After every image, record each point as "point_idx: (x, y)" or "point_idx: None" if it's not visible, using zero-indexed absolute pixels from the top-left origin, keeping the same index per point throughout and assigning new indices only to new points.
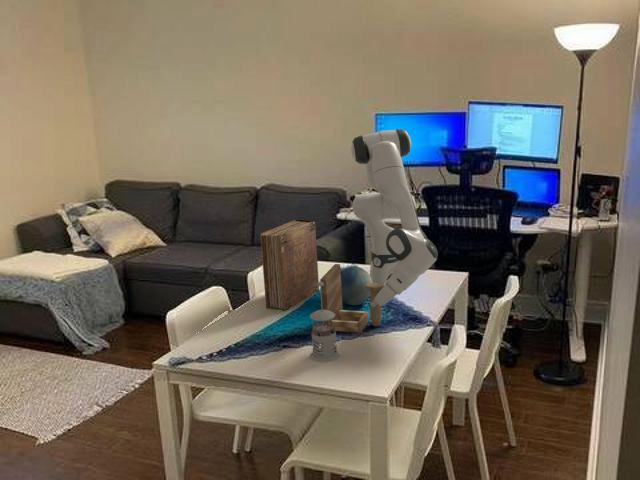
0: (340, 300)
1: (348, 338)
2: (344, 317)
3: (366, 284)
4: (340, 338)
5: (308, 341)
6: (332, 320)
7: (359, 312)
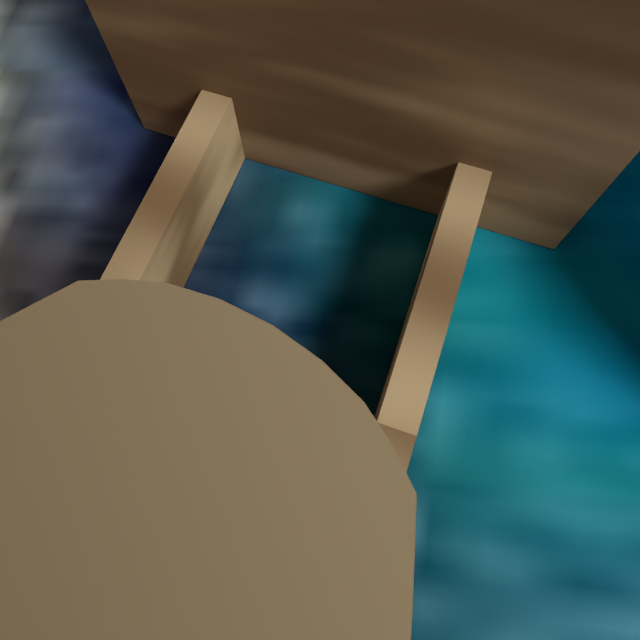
0: (577, 119)
1: (14, 262)
2: (430, 242)
3: (209, 319)
4: (38, 203)
5: (64, 7)
6: (216, 98)
7: (394, 366)
